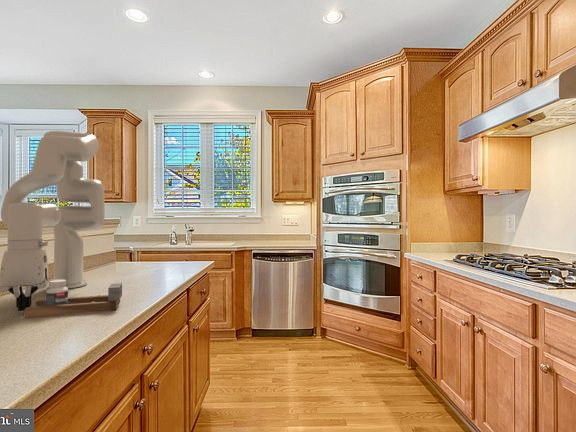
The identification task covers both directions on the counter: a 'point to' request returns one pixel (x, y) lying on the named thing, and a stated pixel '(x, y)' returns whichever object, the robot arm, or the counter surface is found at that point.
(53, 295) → the pill bottle
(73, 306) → the beam
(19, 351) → the counter surface
